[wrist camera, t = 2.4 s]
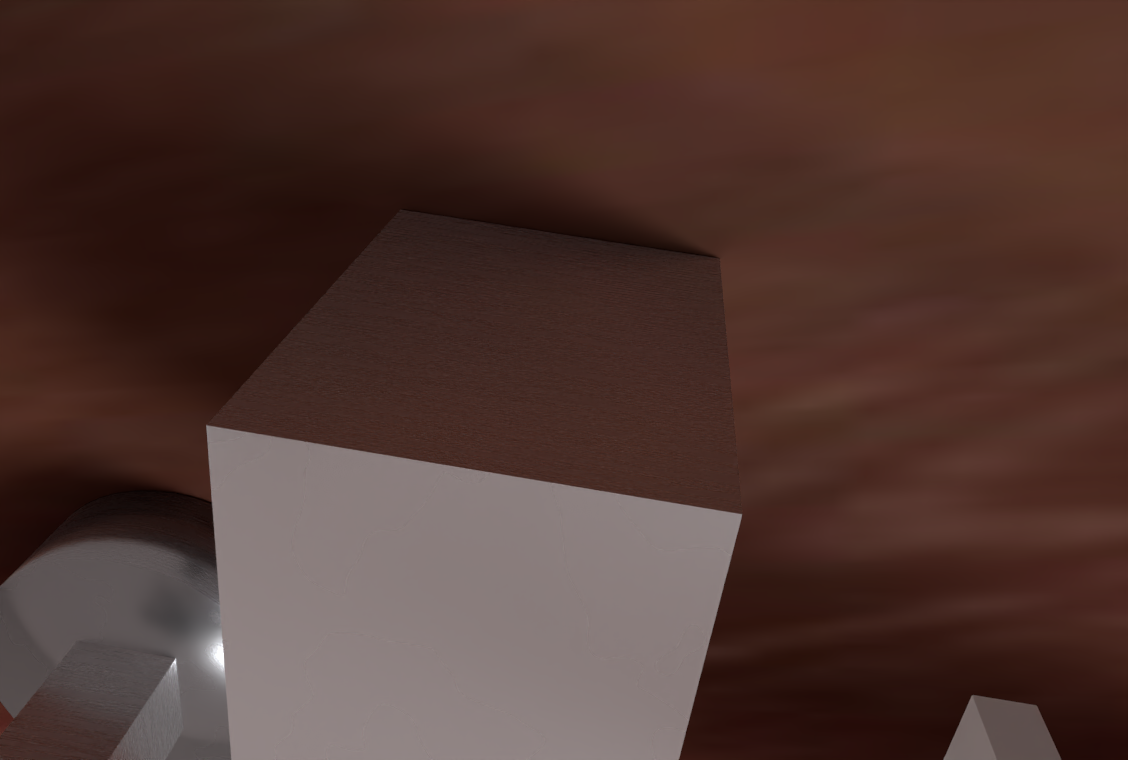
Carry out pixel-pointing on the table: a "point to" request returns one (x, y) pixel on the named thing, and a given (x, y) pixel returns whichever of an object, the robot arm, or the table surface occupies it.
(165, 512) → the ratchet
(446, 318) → the light grey block
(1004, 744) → the robot arm
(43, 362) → the table surface
